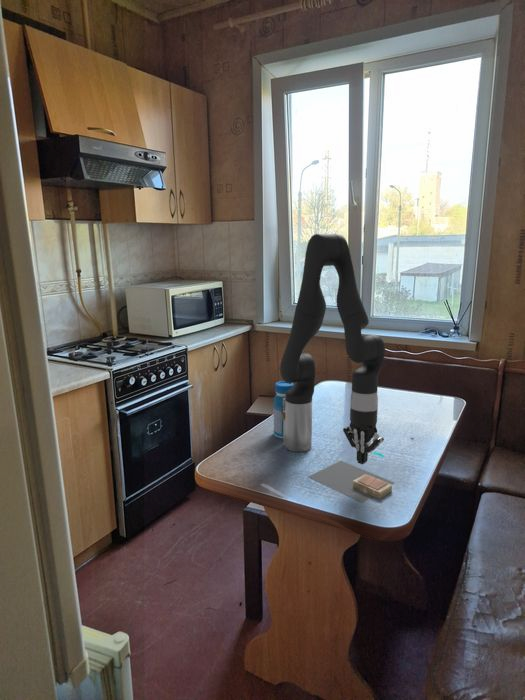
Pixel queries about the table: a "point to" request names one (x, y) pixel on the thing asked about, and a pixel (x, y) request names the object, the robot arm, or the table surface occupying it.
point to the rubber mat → (345, 479)
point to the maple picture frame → (372, 486)
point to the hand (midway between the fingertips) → (361, 462)
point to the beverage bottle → (280, 406)
